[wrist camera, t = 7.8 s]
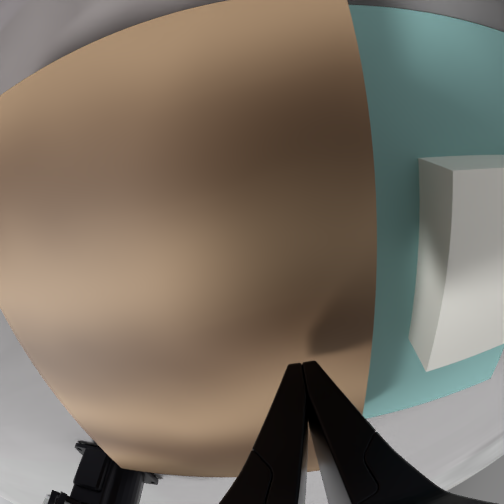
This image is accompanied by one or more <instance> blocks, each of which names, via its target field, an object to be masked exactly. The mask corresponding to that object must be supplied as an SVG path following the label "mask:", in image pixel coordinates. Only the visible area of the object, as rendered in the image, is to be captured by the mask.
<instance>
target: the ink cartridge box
mask: <svg viewBox="0 0 504 504" xmlns="http://www.w3.org/2000/svg"><path fill="white" fill-rule="evenodd" d="M49 498H50V496H48V495H46V497H45V500H44V502H43V504H47V503H48V500H49Z"/></svg>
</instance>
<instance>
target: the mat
mask: <svg viewBox="0 0 504 504" xmlns="http://www.w3.org/2000/svg"><path fill="white" fill-rule="evenodd" d="M349 9H350V13H351V17H352V21H353V26H354V30H355V35H356V39H357V44H358V49H359V54H360V59H361V65H362V70H363V76H364V82H365V89H366V95H367V102H368V110H369V118H370V126H371V135H372V146H373V157H374V170H375V187H376V212H377V272H376V297H375V314H374V327H373V339H372V349H371V358H370V367H369V375H368V382H367V390H366V396H365V403H364V409H363V416H364V417H365V419H367V418H371V417H375V416H380V415H384V414H388V413H392V412H395V411H399V410H403V409H406V408H410V407H413V406H416V405H420V404H423V403H426V402H429V401H432V400H435V399H438V398H441V397H444V396H447V395H450V394H453V393H455V392H458V391H461V390H463V389H466V388H468V387H471V386H473V385H476V384H478V383H481V382H483V381H485V380H488V379H490V378H491V376H492V374H493V372H494V369H495V367H496V365H497V363H498V361H499V358H500V356H501V354H502V351H503V349H504V344H502V345H499V346H497V347H494V348H492V349H490V350H487V351H485V352H482V353H480V354H477V355H474V356H472V357H469V358H466V359H464V360H461V361H458V362H455V363H452V364H449V365H446V366H443V367H440V368H437V369H434V370H431V371H428V372H426V371H425V369H424V367H423V365H422V363H421V361H420V359H419V358H418V356H417V354H416V352H415V350H414V348H413V346H412V344H411V343H410V341H409V339H408V337H409V331H410V325H411V318H412V310H413V302H414V294H415V284H416V274H417V261H418V244H419V208H420V199H419V163H418V158H426V157H443V156H465V155H504V32H501V31H498V30H495V29H492V28H489V27H486V26H482V25H479V24H475V23H472V22H468V21H464V20H460V19H456V18H451V17H447V16H442V15H437V14H432V13H426V12H420V11H414V10H407V9H399V8H390V7H379V6H364V5H349Z"/></svg>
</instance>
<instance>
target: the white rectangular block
mask: <svg viewBox="0 0 504 504" xmlns="http://www.w3.org/2000/svg"><path fill="white" fill-rule="evenodd" d="M418 163H419V199H420V208H419V244H418V261H417V274H416V284H415V294H414V302H413V310H412V318H411V325H410V331H409V337H408V339H409V341H410V343H411V344H412V346H413V348H414V350H415V352H416V354H417V356H418V358H419V359H420V361H421V363H422V365H423V367H424V369H425V371H426V372H428V371H431V370H434V369H437V368H440V367H443V366H446V365H449V364H452V363H455V362H458V361H461V360H464V359H466V358H469V357H472V356H474V355H477V354H480V353H482V352H485V351H487V350H490V349H492V348H494V347H497V346H499V345H502V344H504V155H465V156H443V157H426V158H418Z"/></svg>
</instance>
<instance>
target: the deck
mask: <svg viewBox="0 0 504 504" xmlns="http://www.w3.org/2000/svg"><path fill="white" fill-rule="evenodd" d="M376 272H377V212H376V187H375V170H374V157H373V146H372V135H371V126H370V118H369V110H368V102H367V95H366V89H365V82H364V76H363V70H362V65H361V59H360V54H359V49H358V44H357V39H356V35H355V30H354V26H353V21H352V17H351V13H350V9H349V5H348V2H347V0H228V1H223V2H217V3H213V4H208V5H203V6H199V7H195V8H191V9H187V10H183V11H179V12H175V13H172V14H168V15H165V16H162V17H158V18H155V19H152V20H149V21H146V22H143V23H140V24H137V25H134V26H132V27H129V28H126V29H124V30H121V31H118V32H116V33H113V34H111V35H109V36H106V37H104V38H102V39H99V40H97V41H95V42H92V43H90V44H88V45H86V46H84V47H82V48H80V49H78V50H76V51H74V52H72V53H70V54H68V55H66V56H64V57H62V58H60V59H58V60H56V61H54V62H53V63H51V64H49V65H47V66H45V67H44V68H42V69H40V70H39V71H37V72H35V73H34V74H32V75H30V76H29V77H27V78H26V79H24V80H22V81H21V82H19V83H18V84H16V85H15V86H13V87H12V88H10V89H9V90H7V91H6V92H5V93H3V94H2V95H0V308H1V310H2V312H3V314H4V316H5V318H6V320H7V322H8V323H9V325H10V327H11V329H12V331H13V332H14V334H15V336H16V337H17V339H18V341H19V342H20V344H21V346H22V347H23V349H24V351H25V352H26V354H27V355H28V357H29V358H30V360H31V361H32V363H33V364H34V366H35V367H36V369H37V370H38V372H39V373H40V375H41V376H42V378H43V379H44V380H45V382H46V383H47V384H48V386H49V387H50V389H51V390H52V391H53V393H54V394H55V395H56V397H57V398H58V399H59V400H60V402H61V403H62V404H63V405H64V407H65V408H66V409H67V410H68V412H69V413H70V414H71V415H72V416H73V418H74V419H75V420H76V421H77V422H78V423H79V425H80V426H81V427H82V428H83V429H84V430H85V431H86V433H87V434H88V435H89V436H90V437H91V438H92V439H93V440H94V441H95V442H96V443H97V444H98V445H99V446H100V447H101V449H102V450H103V451H104V452H105V453H106V454H107V455H108V456H109V457H110V458H111V459H112V460H113V461H115V462H116V463H117V464H118V465H119V466H120V467H121V468H123V469H129V470H136V471H143V472H150V473H159V474H169V475H181V476H197V477H238V475H239V473H240V471H241V470H242V468H243V466H244V464H245V462H246V460H247V458H248V456H249V454H250V452H251V450H252V448H253V445H254V443H255V441H256V439H257V437H258V434H259V432H260V430H261V428H262V425H263V423H264V421H265V418H266V416H267V414H268V412H269V409H270V407H271V405H272V402H273V400H274V397H275V395H276V393H277V390H278V388H279V385H280V383H281V380H282V378H283V375H284V373H285V370H286V368H287V366H288V364H292V363H301V364H302V363H303V362H306V361H313V360H314V361H316V362H317V363H318V364H319V365H320V366H321V367H322V369H323V370H324V371H325V372H326V373H327V374H328V376H329V377H330V378H331V379H332V380H333V382H334V383H335V384H336V385H337V386H338V387H339V389H340V390H341V391H342V392H343V393H344V394H345V396H346V397H347V398H348V399H349V400H350V401H351V402H352V404H353V405H354V406H355V407H356V408H357V409H358V411H359V412H360V413H361V414H362V415H363V409H364V403H365V396H366V390H367V382H368V375H369V367H370V358H371V349H372V339H373V327H374V314H375V297H376ZM318 470H320V468H319V464H318V460H317V457H316V453H315V449H314V445H313V441H312V437H311V434H310V429H309V424H308V459H307V472H311V471H318Z"/></svg>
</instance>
